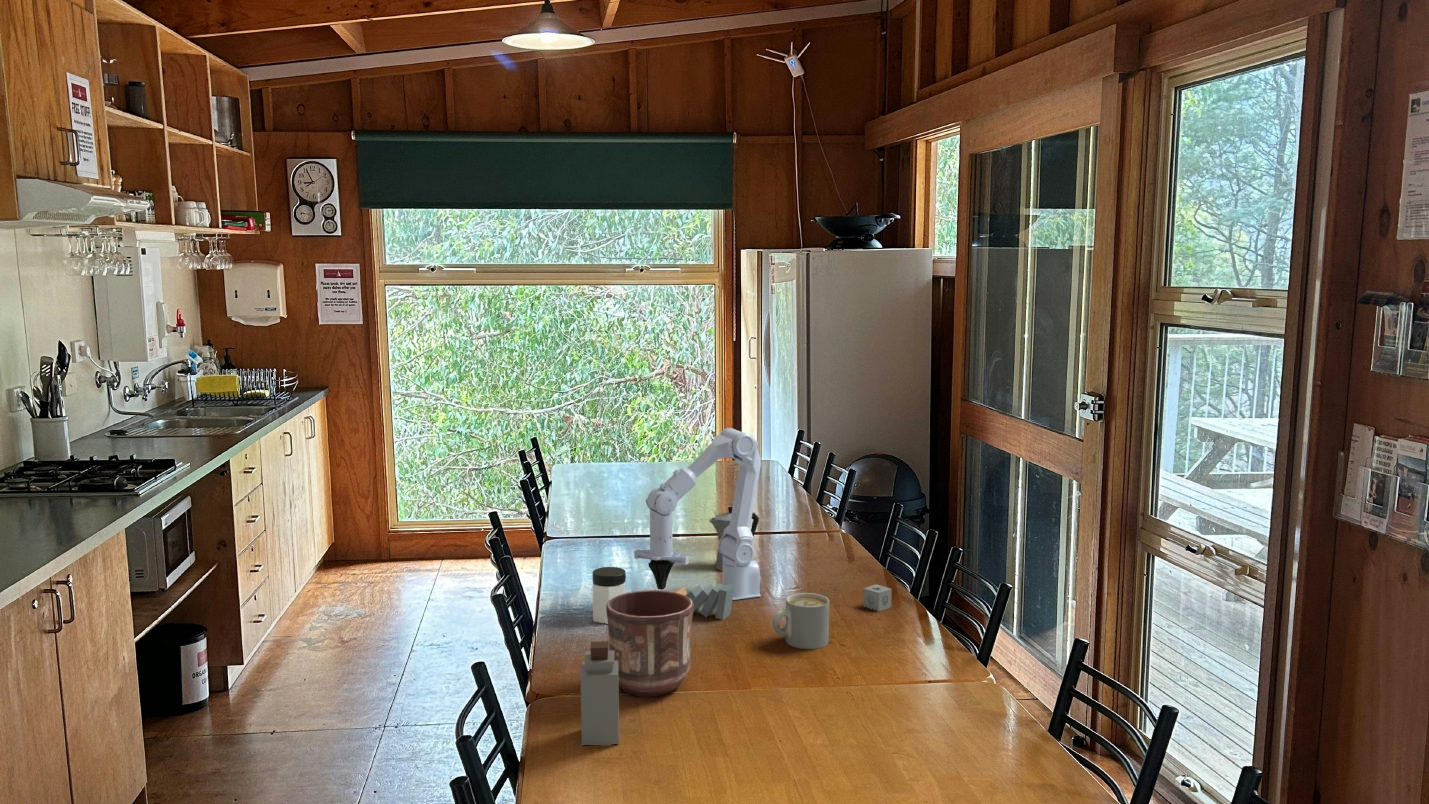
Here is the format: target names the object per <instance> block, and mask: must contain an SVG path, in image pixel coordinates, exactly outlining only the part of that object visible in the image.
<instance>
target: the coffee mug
mask: <svg viewBox="0 0 1429 804" xmlns="http://www.w3.org/2000/svg"><path fill="white" fill-rule="evenodd" d="M784 617H785V625H784V627H783V628H780V620H781V619H782V618H784ZM772 627H773V630H774V631H775V633H776V634H777V635H780V636H783V637H785V642H786V644H787V645H788V646H790V647H792V648H797V649H802V650H816V649H821V648H824V647H826V646H827V645H828V644H829V639H830V637H829V635H830V630H829V627H830V599H829V598H828V597H827V596H824V595H822V594H820V593H819V594H818V593H812V592H801V593H794V594H790V595H788V596H787V597H786V600H785V608H783V609H779V610H778V611H776V612H775V613H774V615H773V618H772Z"/></svg>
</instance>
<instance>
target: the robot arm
mask: <svg viewBox="0 0 1429 804" xmlns="http://www.w3.org/2000/svg"><path fill="white" fill-rule="evenodd" d="M758 446H759V443H758V441H757V440H756V438H754V436H753V435H752V434H750V433H749V432H743V431H740V430H737V429H735V428H732V427H726V428H724V429H723V430H722V431H721V432H720V433H719V434H717V435H716V436H715V437H714V438H713V440H712V442H711V443H710V444H709V445H708V447H706V448H705V449H704V450H703V452H702V453H700V455H698V456H697V458H696V459H695V460H694V461H693V462H692V463H691V464H689V466H688V467H686V468H684V467H683V468H679V469H675V470H674V471H672V474H673V475H672V476H670V477H669V478H668V479H667V480H666V481H665V482H664V483H661V484H659V488H654V489H652V490H651V491H650V492H648V495H647V496H648V497H647V499H645V504H646V506H647V508H648V509H649V549H641V548H638V549H636V550H634V552H633V553H634V555H633V557H634V559H636V560H637V559H643V560H650V562H648V568H649V569H650V570H651V571H650V572H651V573H652V575H653V576H654V577H653V578H654V580H655V584H656V588H657V590H661V591H664V589H666V587H667V581H668V578H669V574H670V572H671V570H672V568H673V566H674V564H681V565H684V566H687V565H688V564H689V563H690V556H689V555H686V554H683V553H679V552H675V551H674V550H673V544H674V541H673V540H674V539H673V537H674V536H673V529H674V528H673V527H674V526H673V512H675V510H676V509H677V505H678V502H679V501H680V500H681V499H683V497H684V496H686V494H688V492H689V491H691V490H692V489H693V488H694V487H695V486H696V484H697V478H698V477H700V476H701V475H702V474H703V473H704V472H706V471H707V470H708V469H709V468H710V467H712V466H713V465H714V464H716V463H717V461H719V460H720V459H732V458H733V459H734V461H735V463H737V464H738V467H739V468H738V474H737V478H736V479H737V480H736V486H735V490H734V497H733V503H732V507H733V508H732V513H731V519H730V524H729V525H728V526H727V527H726V528H725V529H724V533H723V536H722V538H721V539H720V541H719V540H718V545H717V547H718V548H717V550H718V549H719V552H720V553H721V554H722V555H723V572H722V579H721V580H722V582H721V584H723V585H724V586H725V585H726V584H730V585H734V592H733V599H732V601H736V600H744V599H752V598H753V599H754V598H758V597H761V596H762V595H761V593H760V587H761V586H760V584H761V583H760V582H761V581H760V577H761V575H760V567H759V564H758V562H757V561H756V560H753V559H754V557H755V546H754V540H755V537H753V535H752V532H751V526H752V520H753V519H752V513H754V507H755V502H756V501H755V500H756V494H757V488H758V483H759V479H760V472H761V466H762V460H761V456H760V453H759V450H758Z"/></svg>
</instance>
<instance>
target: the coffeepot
mask: <svg viewBox="0 0 1429 804" xmlns="http://www.w3.org/2000/svg"><path fill="white" fill-rule="evenodd" d="M727 508H728V510H727V511H728V512H724V513H719V514H716V515H715V516H714V517H711V518H710V519H709V521H708V522H709V523H711V525H712V526H713V528H714V529H715V531H716V534H717V538H718V539H717V540H718V542H719V541H720V539H721V538H722V536H723V533H724V529H725V528H726V527H727V526H728V525H729V524H730V519H731V513H732V508H733V506H728V507H727ZM751 520H752V521H751V527H750V530H751V532H752V535H753V538H755V537H754V536H755V534H756V531H757V527H758V524H759V521H760V517H759V516H758V515H757V514H756V513H755V512H753V513H752V519H751ZM717 569H718V570H717ZM715 570H717V571H719V570H720V571H719V572H722V571H723V555H722V554H721V553H720V552H719V549H718V548H717V554H716V560H715Z"/></svg>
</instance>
